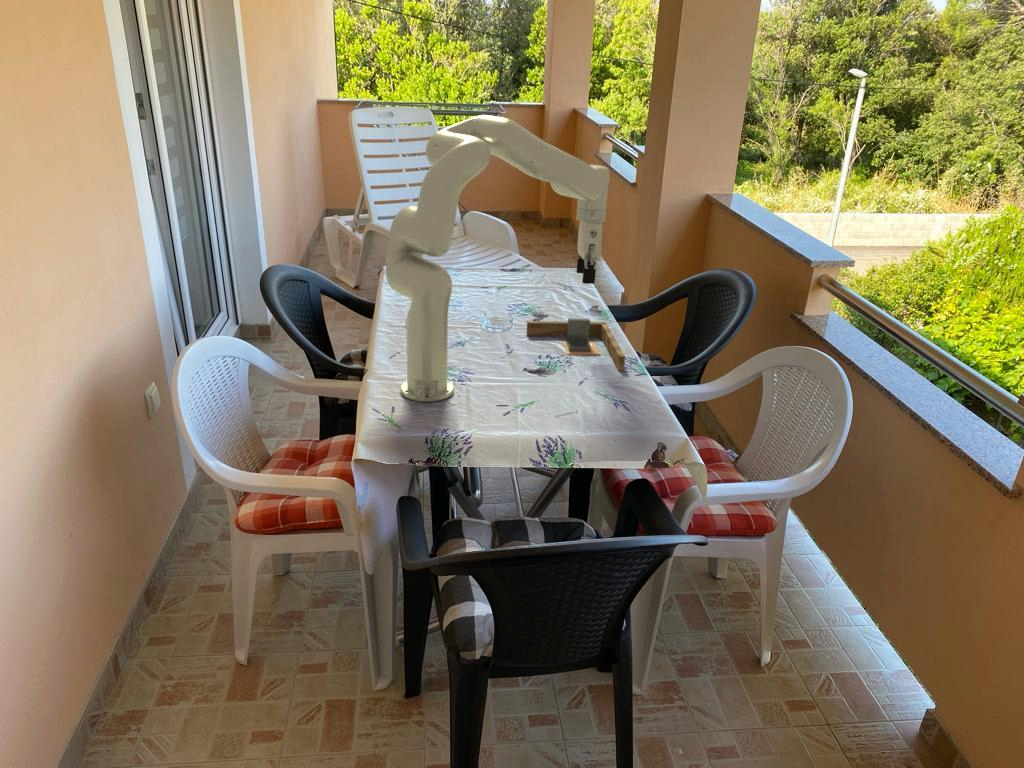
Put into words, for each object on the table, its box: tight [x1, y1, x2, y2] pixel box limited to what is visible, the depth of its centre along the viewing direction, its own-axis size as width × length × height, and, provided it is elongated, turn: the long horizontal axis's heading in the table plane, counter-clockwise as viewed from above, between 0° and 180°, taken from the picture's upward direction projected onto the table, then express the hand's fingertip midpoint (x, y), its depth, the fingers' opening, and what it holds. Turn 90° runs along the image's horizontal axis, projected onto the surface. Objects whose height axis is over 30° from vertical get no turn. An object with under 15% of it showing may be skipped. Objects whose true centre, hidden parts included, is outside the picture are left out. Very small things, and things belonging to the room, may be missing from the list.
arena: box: [526, 320, 626, 372], centre depth 204 cm, size 26×23×4 cm
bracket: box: [565, 318, 591, 352], centre depth 205 cm, size 6×6×8 cm
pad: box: [562, 341, 601, 356], centre depth 207 cm, size 9×9×1 cm
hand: (585, 278), depth 201 cm, fingers open, 9 cm apart
